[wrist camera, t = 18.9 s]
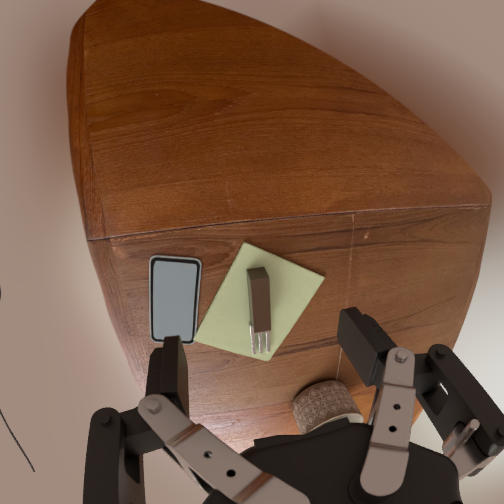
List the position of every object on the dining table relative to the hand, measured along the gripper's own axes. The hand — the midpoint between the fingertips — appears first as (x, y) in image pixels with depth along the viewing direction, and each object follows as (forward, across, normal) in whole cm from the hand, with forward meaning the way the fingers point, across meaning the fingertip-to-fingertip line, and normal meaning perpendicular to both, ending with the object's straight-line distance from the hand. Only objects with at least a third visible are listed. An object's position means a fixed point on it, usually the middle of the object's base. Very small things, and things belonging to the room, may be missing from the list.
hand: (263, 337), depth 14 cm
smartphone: (+27, +8, +14) cm, 31 cm away
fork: (+26, -4, +17) cm, 31 cm away
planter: (+26, -16, +43) cm, 53 cm away
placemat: (+26, -4, +16) cm, 31 cm away
